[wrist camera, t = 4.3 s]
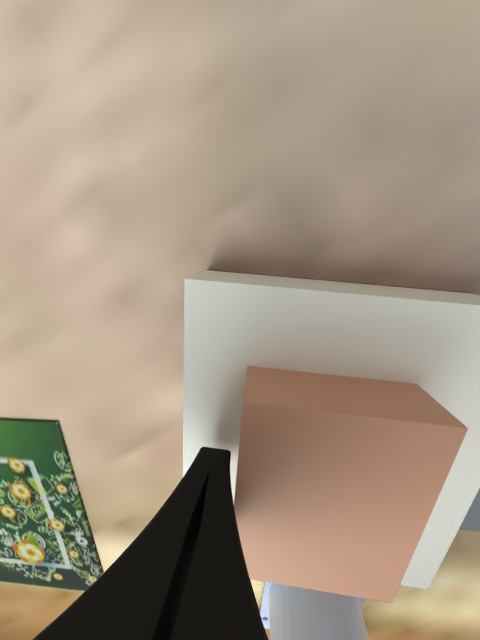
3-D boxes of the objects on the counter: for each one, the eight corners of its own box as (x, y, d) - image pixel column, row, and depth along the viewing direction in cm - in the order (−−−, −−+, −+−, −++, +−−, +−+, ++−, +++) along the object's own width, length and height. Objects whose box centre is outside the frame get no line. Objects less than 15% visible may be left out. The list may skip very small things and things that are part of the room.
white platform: (390, 512, 17) (427, 589, 13) (199, 484, 18) (182, 548, 14) (472, 293, 12) (568, 313, 8) (207, 270, 13) (184, 278, 9)
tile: (366, 534, 12) (392, 603, 10) (234, 514, 13) (227, 575, 10) (417, 383, 10) (468, 428, 7) (247, 365, 10) (243, 401, 8)
